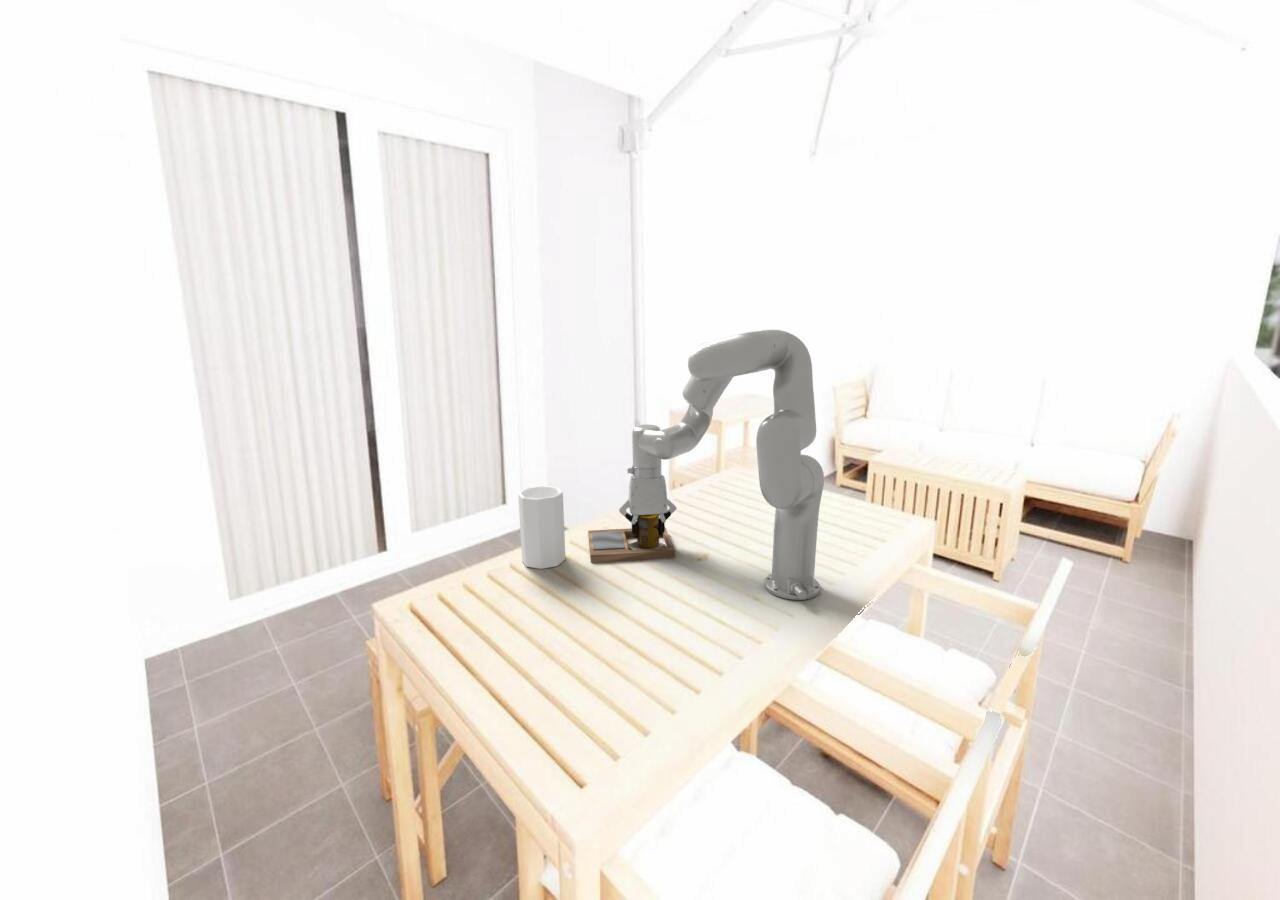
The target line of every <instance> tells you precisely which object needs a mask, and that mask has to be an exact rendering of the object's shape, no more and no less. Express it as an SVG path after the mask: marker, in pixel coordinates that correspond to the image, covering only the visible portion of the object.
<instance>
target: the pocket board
mask: <svg viewBox="0 0 1280 900" xmlns="http://www.w3.org/2000/svg"><path fill="white" fill-rule="evenodd" d="M587 532H588V536H587V537H588V545H589V546H588V547H589V556H590V563H602V562H603V563H605V562H606V563H607V562H620V561H621V562H622V561H623V562H624V561H625V562H626V561H642V560H658V559H661V560H662V559H675V558H676V549H675V546H674V544H673V541H672V540H671V537H670V535H669V533H668V530H667V528H666V527H665V532H663V536H662V538H663V541H664V544H666V545H665V546H666V547H659V548H657V549H638V550H633V549H630V548H629V547H628V545H627V544H628V542H627V539H632V538H634V539H636V538H635V535H634V534H632V527H631V528H615V529H613V528H612V529H595V530H594V529H593V530H587ZM659 537H660V535H659Z"/></svg>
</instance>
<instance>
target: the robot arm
mask: <svg viewBox="0 0 1280 900" xmlns="http://www.w3.org/2000/svg"><path fill="white" fill-rule="evenodd" d="M687 367H688V371H689V374H690V375H691V376H690V378H689V380H688V381H687V383H686V385H685V386H684V387H683V390H682V396H683V398H684V399H683V400H685V401H686V403H687V404H688V407H687V410H686V412H685V414H684V416H683V417H682V419H681V420H680V422H679V423H678V425H677V424H676V425H674V426H670V427H668V428H664V429H661V427H659V426H657V425H654V424H639V425H636V426H634V427H633V429H632V437H631V438H632V440H631V441H632V466H631V467H628V468H627V474H631V477H630V479H629V480H630V481H629V487H628V488H629V489H628V499H627V500H626V501H625V502H624V504H622V505H621V507H619V509H618V512H619V513H620V514H621V515H622V516H623V517H625V519H626V520H627V521H629V522H630V523H631V528H632V534H634V535H635V538H634V539H637V538H638V524H637V518H638V516H639V515H657V514H659V535H660V536H659V538H660V537H662V538H663V532H665V528H666V526H665V524H666V521H667V520H668V519H669V518H670V517H671V516H672V514H673V513H674V512H675V511H676V510H677V506H676V505H675V504H674V503H673V502H672V501H671V500H670V499H669V498H668V492H667V483H666V478H665V476H664V475H663V474H662V460H664V461H665V460H671V459H673V458H674V459H675V458H676V457H679V456H681V455H683V454H686V453H689V452H691V451H692V450H694V449H695V448H696V447H697V445H699V443H700V442H701V440H702V439H703V437H704V436H705V434H706V433H707V431H708V430H709V428H710V425H711V424H712V423H711V422H712V418H713V415H714V408H715V406H716V405H717V403H718V402H719V400H720V399H721V396H723V394H724V392H725V390H726V389H727V388H728V386H729V385H730V383H731V381H732V380H733V378H734V377H738V376H743V375H749V374H754V373H759V372H762V371H767V370H770V369H771V370H773V371H774V380H773V384H772V385H773V386H772V393H773V394H772V395H773V413H772V414H770V415H768V416H766V417H765V418H764V419H763V420H762V421H761V423H760V424H759V427H758V429H757V434H756V439H755V440H756V441H755V442H756V443H755V444H756V455H757V456H756V457H757V470H758V481H759V489H760V491H761V494H762V497H763V498H764V501H766V503H767V504H769V505H770V506H771V507H772V508H775V512H774V521H773V522H774V523H773V524H774V525H773V526H774V527H773V539H772V540H773V542H772V543H773V544H772V545H773V546H772V559H771V560H772V563H771V565H772V566H771V573H770V574H768V575H767V576H766V577H765V578H764V587H765V590H767V591H768V592H769V593H770V594H772V595H773V596H776V597H778V598H783V599H787V600H793V601H794V600H795V601H803V600H805V601H806V600H810V599H813V598H815V597H816V596H818V595H819V594H820V593H821V585H820V582H819V581H818V580H817V579H815V571H816V570H815V569H816V556H817V555H816V552H817V538H818V528H819V527H818V526H819V515H820V505H821V501H822V500H821V499H822V495H823V490H824V485H825V474H824V470H823V467H822V465H821V464H820V463H819V461H818V460H816V458H814V457H812V456H811V455H807V454H802V450H805V449H806V448H808V447H810V446H811V445H812V444H813V443H814V441H815V439H816V436H817V420H816V405H815V394H814V380H813V377H814V376H813V364H812V358H811V355H810V351H809V349H808V347H807V346H806V344H805V342H803V341H802V340H801V339H800V338H799V337H798V336H796V335H795V334H792V333H790V332H789V331H788V332H787V331H784V330H780V329H766V330H765V329H763V330H758V331H747V332H744V333H739V334H736V335H732V336H728V337H725V338H719V339H717V340H712V341H708V342H703V343H700V344H698V345H696V347H694V348H693V349H692V350H691V352H690V355H689V356H688V360H687ZM628 509H629V512H628V511H627V510H628Z"/></svg>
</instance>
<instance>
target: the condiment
mask: <svg viewBox="0 0 1280 900" xmlns="http://www.w3.org/2000/svg"><path fill="white" fill-rule="evenodd" d="M659 518H660V517H659V514H657V515H639V516H638V518H637V524H638V538H636V541H633V542H631V543H627V545H628V549H630V550H638V549H657V548H663V547H664V546H666V543H663V542H660V536H659Z"/></svg>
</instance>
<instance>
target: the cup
mask: <svg viewBox="0 0 1280 900" xmlns="http://www.w3.org/2000/svg"><path fill="white" fill-rule="evenodd" d="M517 495H518V496H517V498H518V512H519V513H518V514H519V515H518V516H519V527H520V528H519V529H520V549H521V561H522V562H523V563H524V565H525V567H527V568H532V569H539V570H544V569H550V568H554V567H558V566H559V565H560V564H562V563H563V562H564V561H565V560H566V539H565V538H566V537H565V535H566V534H565V517H564V516H565V510H564V492H563V491H562V490H561V489H560V488H559V487H555V486H550V485H549V486H547V485H539V486H532V487H527V488H525V489H523V490H521V491H519V492H518V493H517Z"/></svg>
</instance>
